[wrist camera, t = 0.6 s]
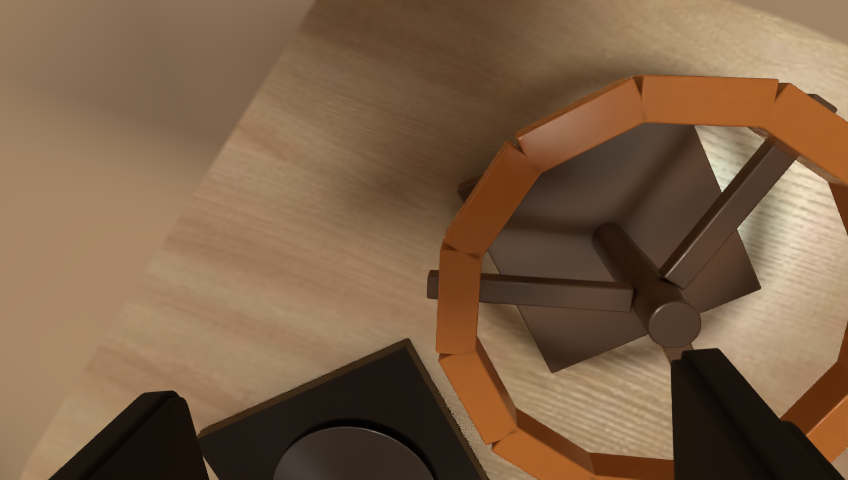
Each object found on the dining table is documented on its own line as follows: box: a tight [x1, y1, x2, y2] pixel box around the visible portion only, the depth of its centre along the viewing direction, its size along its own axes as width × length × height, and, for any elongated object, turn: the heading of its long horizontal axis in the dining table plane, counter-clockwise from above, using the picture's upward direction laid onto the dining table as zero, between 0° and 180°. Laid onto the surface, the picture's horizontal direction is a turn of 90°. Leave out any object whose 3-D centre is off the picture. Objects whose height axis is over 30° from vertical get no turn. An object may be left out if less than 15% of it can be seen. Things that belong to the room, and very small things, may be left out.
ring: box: [436, 75, 848, 480], centre depth 20 cm, size 16×16×2 cm
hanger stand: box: [427, 94, 837, 373], centre depth 26 cm, size 15×16×12 cm
